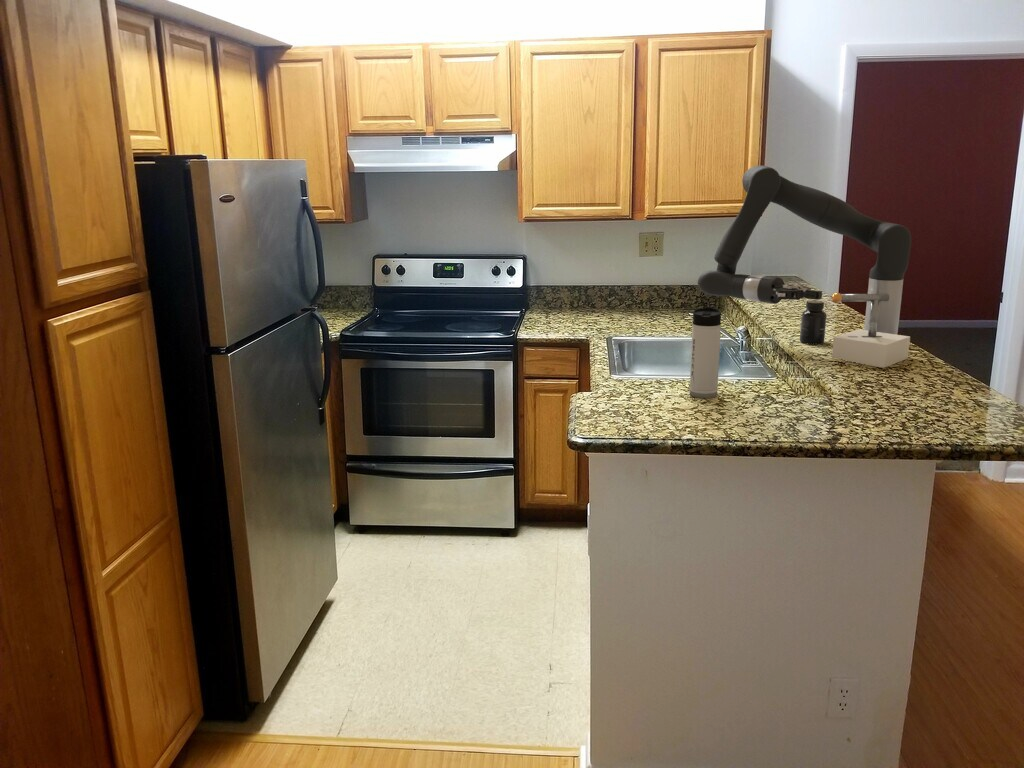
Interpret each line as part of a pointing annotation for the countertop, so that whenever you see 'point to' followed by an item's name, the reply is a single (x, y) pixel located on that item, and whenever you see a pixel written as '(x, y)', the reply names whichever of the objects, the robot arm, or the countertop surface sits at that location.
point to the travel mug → (705, 352)
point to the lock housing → (871, 348)
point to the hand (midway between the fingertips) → (820, 295)
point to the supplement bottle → (813, 323)
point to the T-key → (873, 298)
